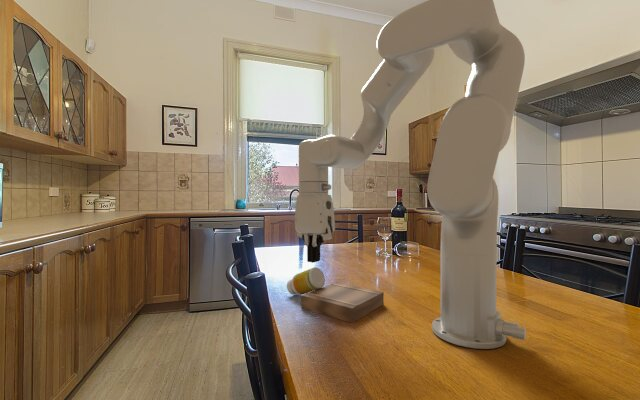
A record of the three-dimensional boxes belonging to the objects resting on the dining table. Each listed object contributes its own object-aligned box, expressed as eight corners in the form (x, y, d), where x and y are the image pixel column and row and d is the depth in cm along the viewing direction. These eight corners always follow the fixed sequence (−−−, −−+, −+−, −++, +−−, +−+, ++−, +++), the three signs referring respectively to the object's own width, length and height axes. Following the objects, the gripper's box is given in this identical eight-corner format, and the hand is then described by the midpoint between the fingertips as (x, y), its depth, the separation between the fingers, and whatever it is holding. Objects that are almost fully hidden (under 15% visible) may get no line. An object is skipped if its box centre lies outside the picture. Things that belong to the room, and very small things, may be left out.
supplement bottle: (308, 269, 77) (281, 280, 82) (315, 290, 76) (288, 300, 81) (320, 264, 81) (295, 275, 87) (328, 284, 80) (301, 294, 86)
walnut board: (383, 304, 75) (383, 291, 75) (351, 322, 64) (351, 307, 64) (336, 293, 84) (336, 282, 84) (301, 308, 73) (301, 294, 73)
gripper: (346, 189, 78) (346, 262, 78) (301, 190, 87) (301, 255, 87) (327, 188, 72) (328, 268, 72) (282, 189, 81) (282, 260, 82)
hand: (313, 261), depth 80 cm, fingers closed
